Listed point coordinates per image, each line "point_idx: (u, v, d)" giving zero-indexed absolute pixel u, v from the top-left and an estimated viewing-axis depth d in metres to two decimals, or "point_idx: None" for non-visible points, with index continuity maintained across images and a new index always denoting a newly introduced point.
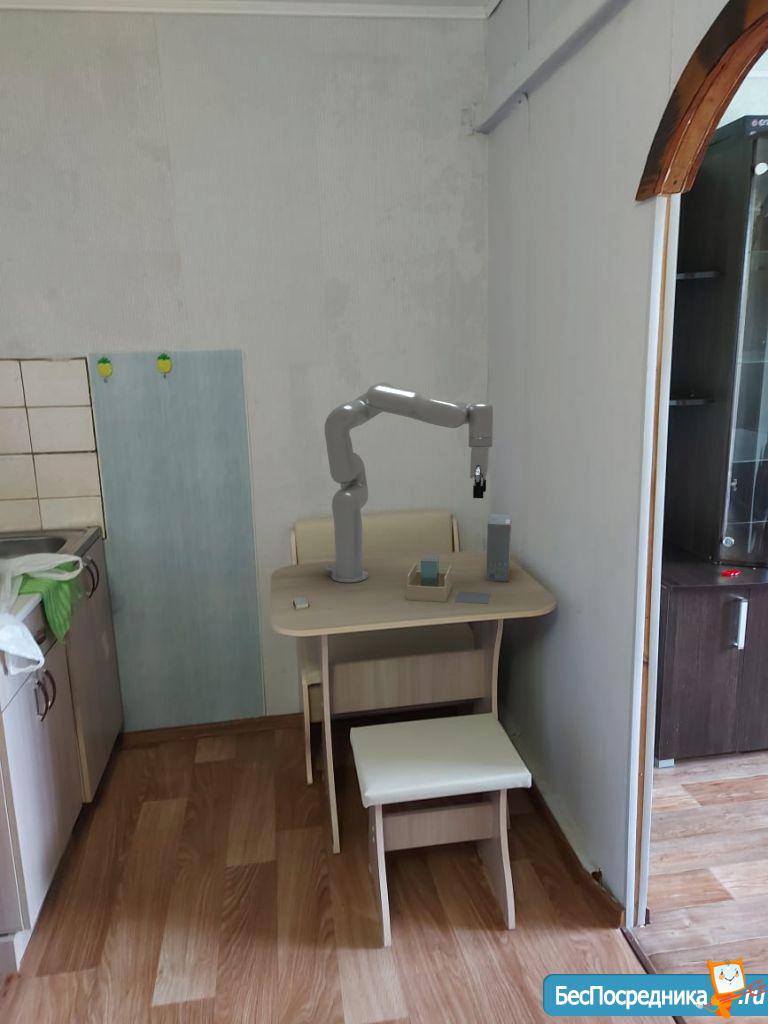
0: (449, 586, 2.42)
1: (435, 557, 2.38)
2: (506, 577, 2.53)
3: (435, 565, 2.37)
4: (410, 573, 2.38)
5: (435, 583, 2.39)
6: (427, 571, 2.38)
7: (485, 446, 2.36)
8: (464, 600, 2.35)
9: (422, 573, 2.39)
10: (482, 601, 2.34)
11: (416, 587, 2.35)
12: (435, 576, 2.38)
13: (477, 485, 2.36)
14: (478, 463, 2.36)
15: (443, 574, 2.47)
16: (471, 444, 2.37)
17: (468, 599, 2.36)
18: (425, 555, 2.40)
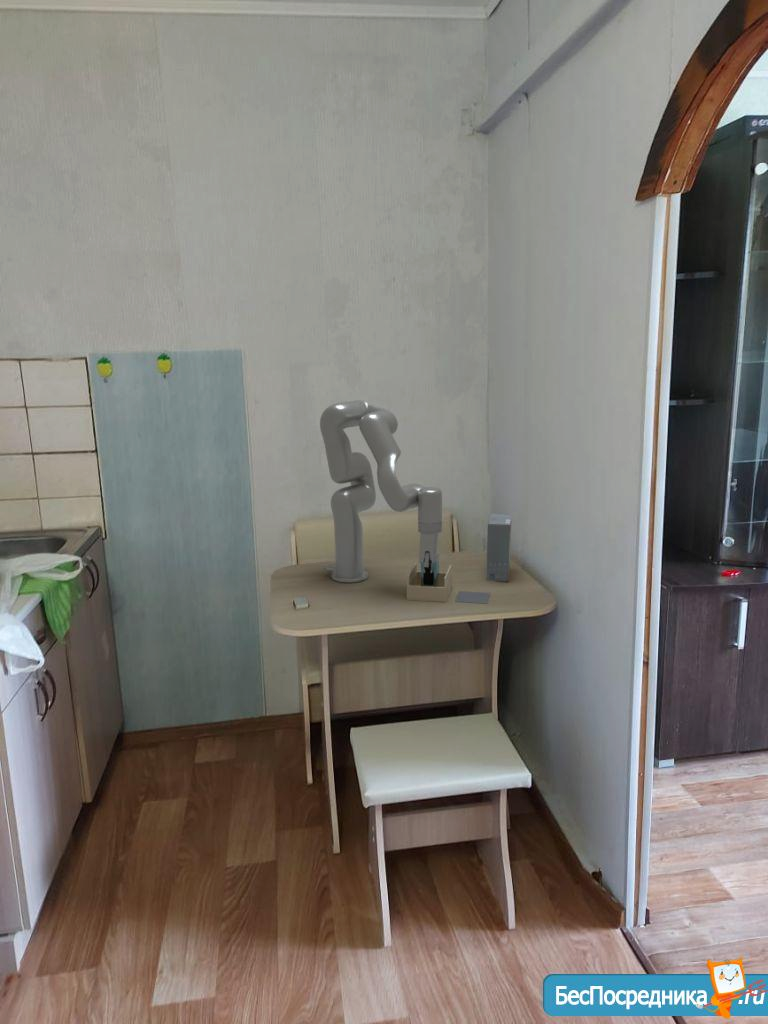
0: (449, 586, 2.42)
1: None
2: (506, 577, 2.53)
3: (435, 565, 2.37)
4: (410, 573, 2.38)
5: (435, 583, 2.39)
6: None
7: (434, 532, 2.34)
8: (464, 600, 2.35)
9: (422, 573, 2.39)
10: (482, 601, 2.34)
11: (416, 587, 2.35)
12: (435, 576, 2.38)
13: (427, 573, 2.37)
14: (427, 549, 2.34)
15: (443, 574, 2.47)
16: (420, 529, 2.35)
17: (468, 599, 2.36)
18: None
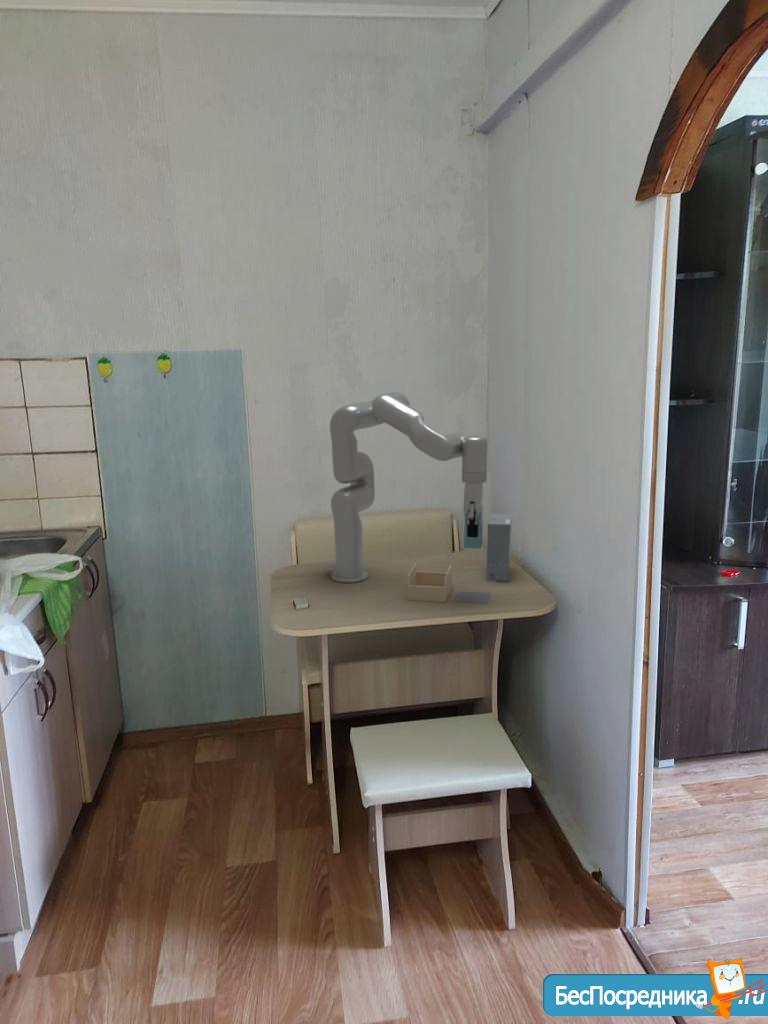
0: (449, 586, 2.42)
1: None
2: (506, 577, 2.53)
3: (480, 516, 2.29)
4: (410, 573, 2.38)
5: (479, 535, 2.30)
6: None
7: (479, 481, 2.25)
8: (464, 600, 2.35)
9: (466, 525, 2.30)
10: (482, 601, 2.34)
11: (416, 587, 2.35)
12: (479, 528, 2.29)
13: (471, 524, 2.28)
14: (472, 499, 2.25)
15: (443, 574, 2.47)
16: (464, 479, 2.27)
17: (468, 599, 2.36)
18: None
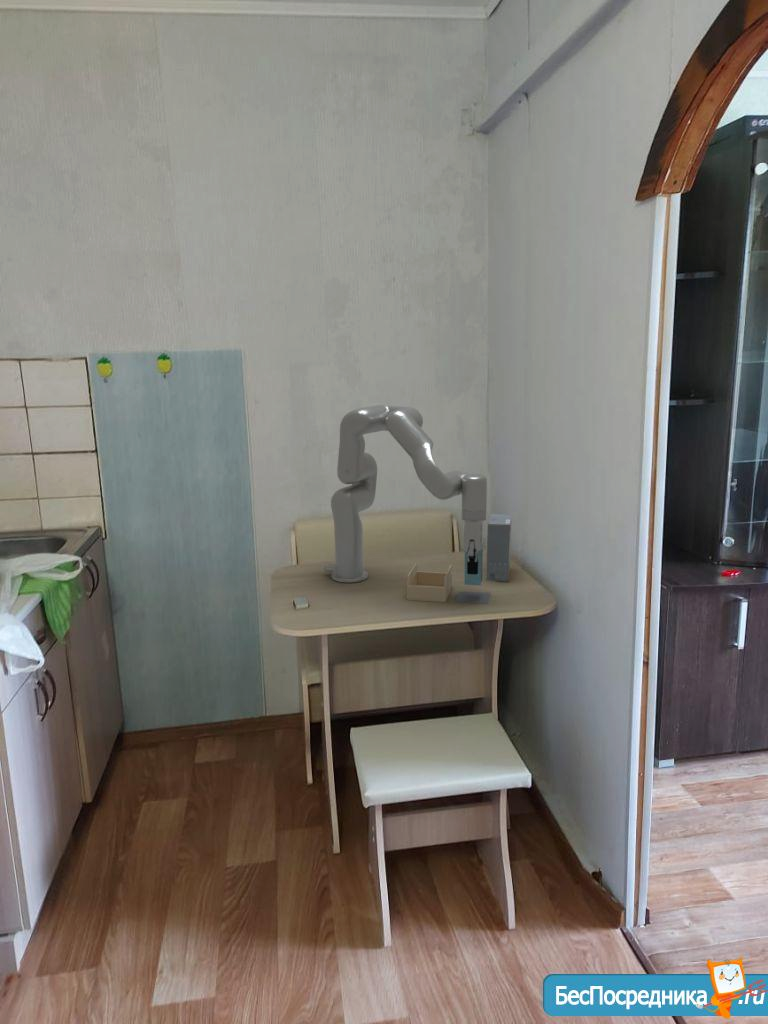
0: (449, 586, 2.42)
1: None
2: (506, 577, 2.53)
3: (479, 554, 2.31)
4: (410, 573, 2.38)
5: (479, 572, 2.33)
6: None
7: (479, 520, 2.28)
8: (464, 600, 2.35)
9: (466, 562, 2.33)
10: (482, 601, 2.34)
11: (416, 587, 2.35)
12: (479, 565, 2.32)
13: (471, 562, 2.31)
14: (471, 537, 2.28)
15: (443, 574, 2.47)
16: (464, 517, 2.29)
17: (468, 599, 2.36)
18: None
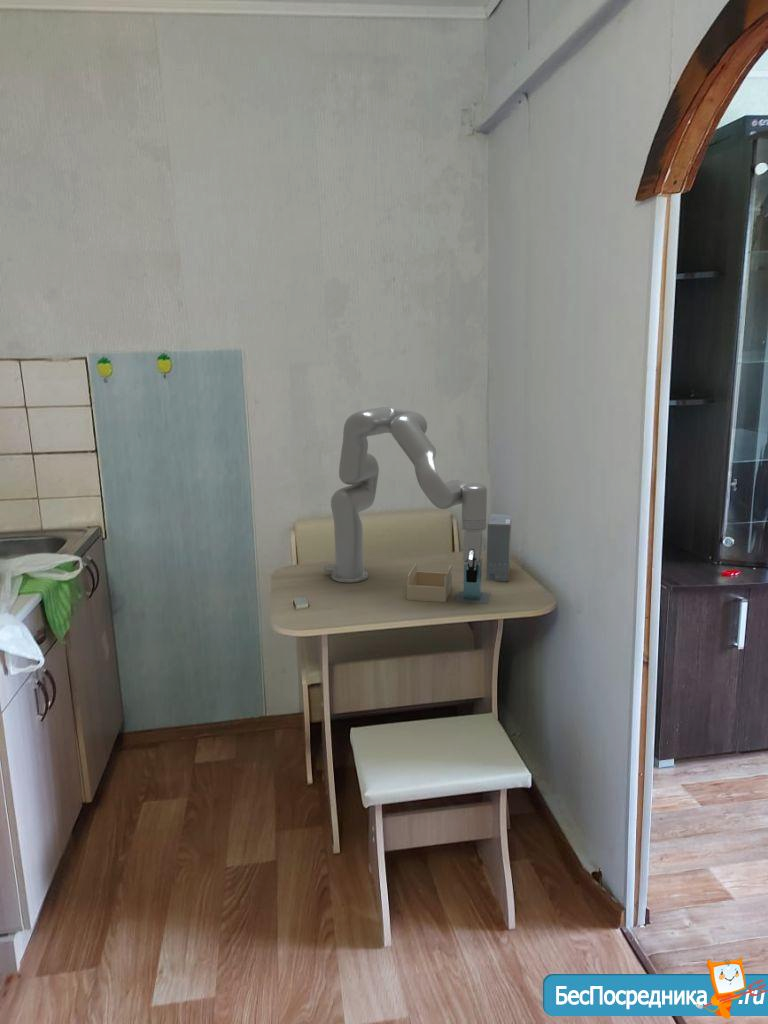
0: (449, 586, 2.42)
1: (478, 561, 2.33)
2: (506, 577, 2.53)
3: (478, 569, 2.33)
4: (410, 573, 2.38)
5: (478, 587, 2.34)
6: None
7: (478, 529, 2.29)
8: (464, 600, 2.35)
9: (465, 577, 2.34)
10: (482, 601, 2.34)
11: (416, 587, 2.35)
12: (478, 580, 2.33)
13: (470, 569, 2.29)
14: (471, 547, 2.29)
15: (443, 574, 2.47)
16: (464, 526, 2.30)
17: (468, 599, 2.36)
18: None
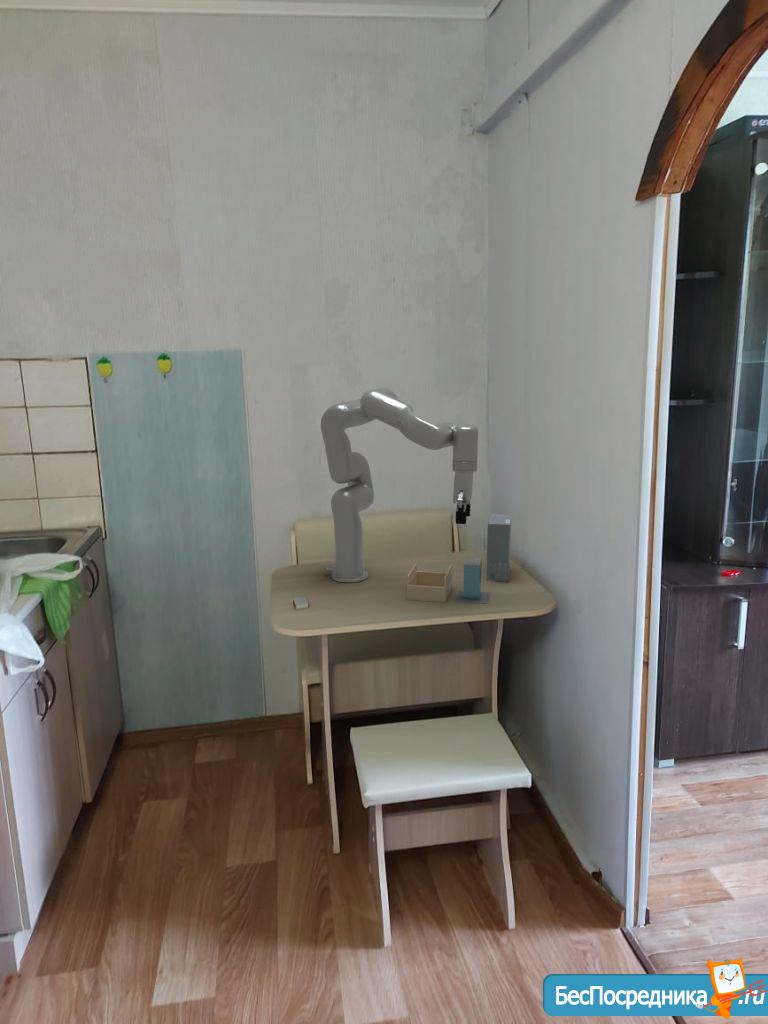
0: (449, 586, 2.42)
1: (478, 561, 2.33)
2: (506, 577, 2.53)
3: (478, 569, 2.33)
4: (410, 573, 2.38)
5: (478, 587, 2.34)
6: (470, 575, 2.34)
7: (469, 470, 2.28)
8: (464, 600, 2.35)
9: (465, 577, 2.34)
10: (482, 601, 2.34)
11: (416, 587, 2.35)
12: (478, 580, 2.33)
13: (460, 510, 2.28)
14: (461, 488, 2.28)
15: (443, 574, 2.47)
16: (455, 468, 2.29)
17: (468, 599, 2.36)
18: (468, 559, 2.36)
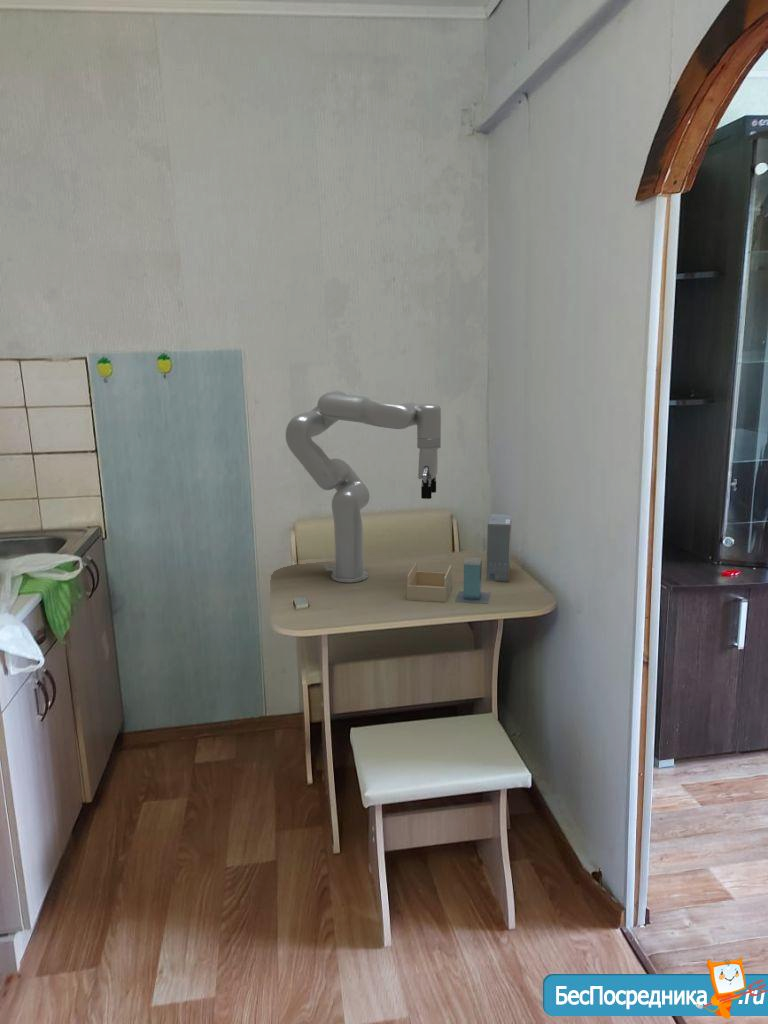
0: (449, 586, 2.42)
1: (478, 561, 2.33)
2: (506, 577, 2.53)
3: (478, 569, 2.33)
4: (410, 573, 2.38)
5: (478, 587, 2.34)
6: (470, 575, 2.34)
7: (433, 447, 2.38)
8: (464, 600, 2.35)
9: (465, 577, 2.34)
10: (482, 601, 2.34)
11: (416, 587, 2.35)
12: (478, 580, 2.33)
13: (425, 486, 2.39)
14: (426, 464, 2.38)
15: (443, 574, 2.47)
16: (419, 445, 2.40)
17: (468, 599, 2.36)
18: (468, 559, 2.36)
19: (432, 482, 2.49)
